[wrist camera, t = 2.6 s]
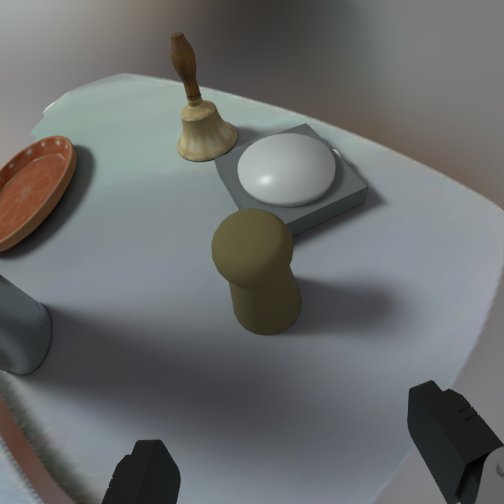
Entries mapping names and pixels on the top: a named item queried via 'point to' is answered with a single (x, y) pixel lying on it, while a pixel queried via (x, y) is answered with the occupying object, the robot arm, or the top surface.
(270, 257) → the cork
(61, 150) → the saucer
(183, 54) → the hand bell
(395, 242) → the top surface
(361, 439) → the top surface
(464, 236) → the top surface
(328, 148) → the scale
